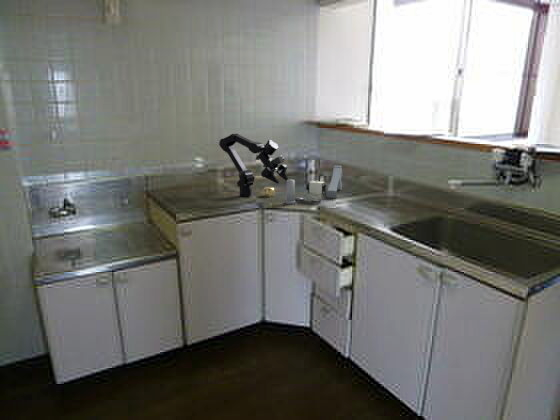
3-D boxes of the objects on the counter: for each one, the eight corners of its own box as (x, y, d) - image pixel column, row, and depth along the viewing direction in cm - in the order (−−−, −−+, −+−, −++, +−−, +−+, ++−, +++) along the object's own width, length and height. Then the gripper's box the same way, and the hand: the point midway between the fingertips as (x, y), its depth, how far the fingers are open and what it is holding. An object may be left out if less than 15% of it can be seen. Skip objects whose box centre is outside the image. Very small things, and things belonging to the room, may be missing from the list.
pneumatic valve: (324, 202, 215) (325, 181, 212) (305, 200, 220) (306, 179, 217) (328, 200, 219) (329, 180, 216) (309, 198, 225) (310, 178, 222)
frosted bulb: (284, 204, 211) (284, 180, 208) (286, 202, 216) (286, 179, 213) (294, 204, 210) (294, 181, 207) (296, 202, 215) (296, 179, 212)
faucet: (337, 212, 233) (343, 184, 255) (336, 190, 223) (343, 162, 245) (327, 212, 235) (334, 183, 257) (326, 190, 224) (333, 162, 246)
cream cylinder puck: (262, 196, 230) (262, 188, 228) (265, 194, 236) (265, 186, 235) (272, 197, 228) (272, 189, 227) (275, 195, 234) (275, 187, 233)
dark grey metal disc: (292, 200, 220) (292, 198, 219) (294, 198, 226) (294, 196, 226) (303, 201, 218) (303, 199, 218) (305, 198, 224) (305, 197, 224)
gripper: (264, 152, 205) (281, 174, 201) (284, 149, 219) (301, 170, 216) (253, 166, 211) (270, 188, 208) (273, 162, 226) (289, 183, 222)
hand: (283, 182), depth 213 cm, fingers open, 9 cm apart
